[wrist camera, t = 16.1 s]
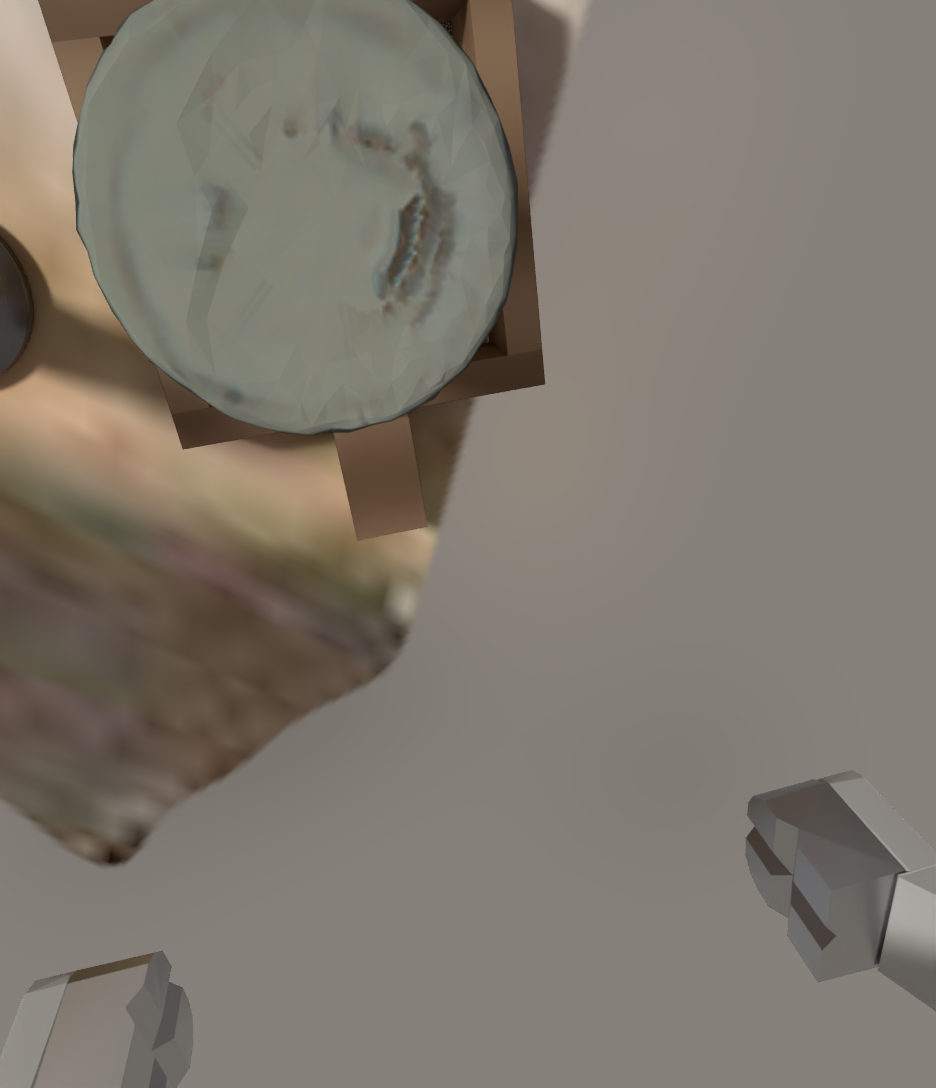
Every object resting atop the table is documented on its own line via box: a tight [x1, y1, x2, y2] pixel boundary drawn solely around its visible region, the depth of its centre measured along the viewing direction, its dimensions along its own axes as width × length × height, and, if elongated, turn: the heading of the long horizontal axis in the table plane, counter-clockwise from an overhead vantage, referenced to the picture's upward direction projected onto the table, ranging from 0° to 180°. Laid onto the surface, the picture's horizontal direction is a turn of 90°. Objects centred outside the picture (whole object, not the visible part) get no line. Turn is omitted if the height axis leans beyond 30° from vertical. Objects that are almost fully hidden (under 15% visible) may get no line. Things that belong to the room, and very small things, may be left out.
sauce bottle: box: [72, 0, 518, 435], centre depth 15 cm, size 7×6×20 cm
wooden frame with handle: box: [38, 0, 545, 541], centre depth 23 cm, size 16×12×4 cm
